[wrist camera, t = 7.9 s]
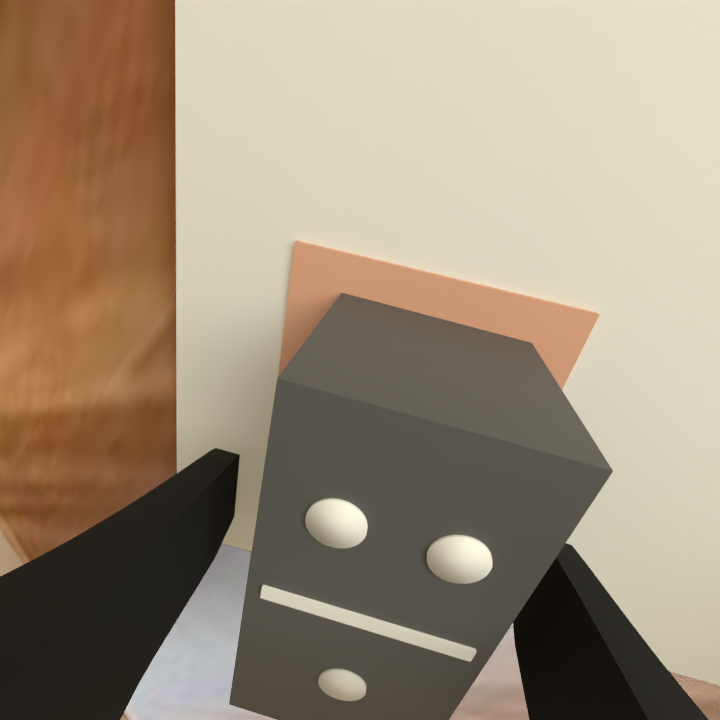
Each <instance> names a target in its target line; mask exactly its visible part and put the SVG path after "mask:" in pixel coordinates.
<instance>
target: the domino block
mask: <svg viewBox="0 0 720 720" xmlns="http://www.w3.org/2000/svg"><path fill="white" fill-rule="evenodd" d="M612 472H613V470H612V468H611V467H610V465H609V464H608V462H607V461H606V459H605V457H604V456H603V454H602V453H601V451H600V449H599V448H598V446H597V445H596V443H595V442H594V440H593V438H592V437H591V435H590V434H589V432H588V431H587V429H586V427H585V426H584V424H583V423H582V421H581V420H580V418H579V416H578V415H577V413H576V412H575V410H574V408H573V407H572V405H571V404H570V402H569V401H568V399H567V397H566V396H565V394H564V393H563V391H562V390H561V388H560V386H559V385H558V383H557V382H556V380H555V378H554V377H553V375H552V374H551V372H550V371H549V369H548V367H547V366H546V364H545V363H544V361H543V360H542V358H541V356H540V355H539V353H538V352H537V350H536V349H535V347H534V345H533V344H532V343H531V342H527V341H523V340H519V339H516V338H512V337H508V336H504V335H500V334H497V333H493V332H489V331H485V330H481V329H478V328H474V327H470V326H466V325H463V324H459V323H455V322H451V321H447V320H444V319H440V318H436V317H432V316H429V315H425V314H421V313H417V312H413V311H410V310H406V309H402V308H398V307H395V306H391V305H387V304H383V303H379V302H376V301H372V300H368V299H364V298H360V297H357V296H353V295H349V294H345V293H341V294H340V296H339V297H338V298H337V300H336V301H335V302H334V304H333V305H332V306H331V308H330V309H329V310H328V312H327V313H326V314H325V316H324V317H323V318H322V319H321V321H320V322H319V323H318V325H317V326H316V327H315V329H314V330H313V331H312V333H311V334H310V335H309V337H308V338H307V339H306V341H305V342H304V343H303V345H302V346H301V347H300V349H299V350H298V351H297V353H296V354H295V355H294V356H293V358H292V359H291V360H290V362H289V363H288V364H287V366H286V367H285V368H284V370H283V371H282V372H281V374H280V375H279V376H278V378H277V383H276V389H275V396H274V403H273V410H272V417H271V423H270V430H269V437H268V444H267V451H266V458H265V464H264V471H263V478H262V485H261V492H260V498H259V505H258V512H257V519H256V526H255V532H254V539H253V546H252V553H251V560H250V566H249V573H248V580H247V587H246V594H245V601H244V607H243V614H242V621H241V628H240V635H239V641H238V648H237V655H236V662H235V669H234V675H233V682H232V689H231V696H230V703H229V704H230V705H233V706H236V707H240V708H243V709H246V710H249V711H252V712H255V713H258V714H262V715H265V716H268V717H271V718H274V719H277V720H449V718H450V717H451V715H452V714H453V712H454V711H455V709H456V708H457V706H458V705H459V703H460V702H461V700H462V699H463V697H464V696H465V694H466V693H467V691H468V690H469V688H470V687H471V685H472V684H473V682H474V681H475V679H476V678H477V676H478V675H479V673H480V672H481V670H482V669H483V667H484V666H485V664H486V663H487V661H488V660H489V658H490V656H491V655H492V653H493V652H494V650H495V649H496V647H497V646H498V644H499V643H500V641H501V640H502V638H503V637H504V635H505V634H506V632H507V631H508V629H509V628H510V626H511V625H512V623H513V622H514V620H515V619H516V617H517V616H518V614H519V613H520V611H521V610H522V608H523V607H524V605H525V604H526V602H527V601H528V599H529V598H530V596H531V595H532V593H533V592H534V590H535V588H536V587H537V585H538V584H539V582H540V581H541V579H542V578H543V576H544V575H545V573H546V572H547V570H548V569H549V567H550V566H551V564H552V563H553V561H554V560H555V558H556V557H557V555H558V554H559V552H560V551H561V549H562V548H563V546H564V545H565V543H566V542H567V540H568V539H569V537H570V536H571V534H572V533H573V531H574V530H575V528H576V527H577V525H578V524H579V522H580V520H581V519H582V517H583V516H584V514H585V513H586V511H587V510H588V508H589V507H590V505H591V504H592V502H593V501H594V499H595V498H596V496H597V495H598V493H599V492H600V490H601V489H602V487H603V486H604V484H605V483H606V481H607V480H608V478H609V477H610V475H611V474H612Z"/></svg>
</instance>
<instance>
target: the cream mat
mask: <svg viewBox="0 0 720 720" xmlns="http://www.w3.org/2000/svg"><path fill="white" fill-rule="evenodd" d="M175 66H176V390H177V473H178V472H180V471H181V470H183V469H184V468H186V467H187V466H189V465H190V464H192V463H193V462H194V461H196V460H197V459H199V458H200V457H202V456H203V455H205V454H206V453H207V452H209V451H210V450H212V449H214V448H218V449H221V450H225V451H229V452H232V453H236V454H240V458H239V469H238V481H237V492H236V504H235V515H234V518H233V520H232V523H231V525H230V527H229V529H228V531H227V533H226V535H225V538H224V540H223V542H222V544H225V545H229V546H232V547H236V548H239V549H243V550H246V551H250V552H252V546H253V539H254V532H255V526H256V519H257V512H258V505H259V498H260V492H261V485H262V478H263V471H264V464H265V458H266V451H267V444H268V437H269V430H270V423H271V417H272V410H273V403H274V396H275V389H276V383H277V378H278V376H279V375H280V374H281V372H282V371H283V370H284V368H285V367H286V366H287V364H288V363H289V362H290V360H291V359H292V358H293V356H294V355H295V354H296V353H297V351H298V350H299V349H300V347H301V346H302V345H303V343H304V342H305V341H306V339H307V338H308V337H309V335H310V334H311V333H312V331H313V330H314V329H315V327H316V326H317V325H318V323H319V322H320V321H321V319H322V318H323V317H324V316H325V314H326V313H327V312H328V310H329V309H330V308H331V306H332V305H333V304H334V302H335V301H336V300H337V298H338V297H339V296H340V294H341V293H345V294H349V295H353V296H357V297H360V298H364V299H368V300H372V301H376V302H379V303H383V304H387V305H391V306H395V307H398V308H402V309H406V310H410V311H413V312H417V313H421V314H425V315H429V316H432V317H436V318H440V319H444V320H447V321H451V322H455V323H459V324H463V325H466V326H470V327H474V328H478V329H481V330H485V331H489V332H493V333H497V334H500V335H504V336H508V337H512V338H516V339H519V340H523V341H527V342H531V343H532V344H533V345H534V347H535V349H536V350H537V352H538V353H539V355H540V356H541V358H542V360H543V361H544V363H545V364H546V366H547V367H548V369H549V371H550V372H551V374H552V375H553V377H554V378H555V380H556V382H557V383H558V385H559V386H560V388H561V390H562V391H563V393H564V394H565V396H566V397H567V399H568V401H569V402H570V404H571V405H572V407H573V408H574V410H575V412H576V413H577V415H578V416H579V418H580V420H581V421H582V423H583V424H584V426H585V427H586V429H587V431H588V432H589V434H590V435H591V437H592V438H593V440H594V442H595V443H596V445H597V446H598V448H599V449H600V451H601V453H602V454H603V456H604V457H605V459H606V461H607V462H608V464H609V465H610V467H611V468H612V470H613V472H612V474H611V475H610V477H609V478H608V480H607V481H606V483H605V484H604V486H603V487H602V489H601V490H600V492H599V493H598V495H597V496H596V498H595V499H594V501H593V502H592V504H591V505H590V507H589V508H588V510H587V511H586V513H585V514H584V516H583V517H582V519H581V520H580V522H579V524H578V525H577V527H576V528H575V530H574V531H573V533H572V534H571V536H570V537H569V539H568V540H567V542H566V544H570V545H572V546H573V547H574V548H575V550H576V551H577V552H578V553H579V555H580V556H581V557H582V559H583V560H584V561H585V562H586V564H587V565H588V566H589V568H590V569H591V570H592V572H593V573H594V574H595V576H596V577H597V578H598V580H599V581H600V582H601V584H602V585H603V586H604V588H605V589H606V590H607V592H608V593H609V594H610V596H611V597H612V598H613V600H614V601H615V602H616V604H617V605H618V606H619V608H620V609H621V610H622V612H623V613H624V614H625V616H626V617H627V618H628V619H629V621H630V622H631V623H632V625H633V626H634V627H635V629H636V630H637V631H638V633H639V634H640V635H641V636H642V638H643V639H644V640H645V642H646V643H647V644H648V646H649V647H650V648H651V649H652V651H653V652H654V653H655V655H656V656H657V657H658V658H659V660H660V661H661V662H662V663H663V665H664V666H665V667H666V668H667V670H668V671H670V672H673V673H677V674H680V675H684V676H687V677H691V678H694V679H698V680H701V681H705V682H708V683H712V684H715V685H719V686H720V0H175ZM511 626H512V627H513V623H512V625H511Z"/></svg>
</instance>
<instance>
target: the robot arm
mask: <svg viewBox="0 0 720 720" xmlns="http://www.w3.org/2000/svg"><path fill="white" fill-rule="evenodd" d="M239 458H240V454H236V453H232V452H229V451H225V450H221V449H218V448H214V449H212V450H210V451H209V452H207V453H206V454H205V455H203V456H202V457H200V458H199V459H197V460H196V461H194V462H193V463H192V464H190V465H189V466H187V467H186V468H184V469H183V470H181V471H180V472H178V473H177V474H175V475H174V476H173V477H171V478H170V479H168V480H167V481H165V482H164V483H162V484H161V485H159V486H158V487H156V488H154V489H153V490H151V491H150V492H148V493H147V494H145V495H144V496H142V497H141V498H139V499H137V500H136V501H134V502H133V503H131V504H130V505H128V506H127V507H125V508H123V509H122V510H120V511H118V512H117V513H115V514H113V515H112V516H110V517H108V518H107V519H105V520H103V521H102V522H100V523H98V524H97V525H95V526H93V527H91V528H90V529H88V530H86V531H85V532H83V533H81V534H80V535H78V536H76V537H74V538H73V539H71V540H69V541H67V542H65V543H64V544H62V545H60V546H58V547H56V548H55V549H53V550H51V551H49V552H47V553H45V554H43V555H42V556H40V557H38V558H36V559H34V560H32V561H30V562H28V563H26V564H24V565H22V566H20V567H18V568H16V569H15V570H13V571H11V572H9V573H7V574H5V575H3V576H1V577H0V720H120V718H121V717H122V715H123V713H124V711H125V709H126V707H127V705H128V703H129V701H130V699H131V697H132V695H133V693H134V691H135V689H136V687H137V686H138V684H139V682H140V680H141V679H142V677H143V675H144V673H145V672H146V670H147V668H148V666H149V665H150V663H151V661H152V659H153V658H154V656H155V654H156V653H157V651H158V650H159V648H160V646H161V645H162V643H163V641H164V640H165V638H166V637H167V635H168V633H169V632H170V630H171V628H172V627H173V625H174V624H175V622H176V620H177V619H178V617H179V616H180V614H181V612H182V611H183V609H184V607H185V606H186V604H187V603H188V601H189V599H190V598H191V596H192V594H193V593H194V591H195V590H196V588H197V586H198V585H199V583H200V581H201V580H202V578H203V576H204V575H205V573H206V571H207V570H208V568H209V567H210V565H211V563H212V562H213V560H214V558H215V556H216V554H217V552H218V550H219V548H220V546H221V544H222V542H223V540H224V538H225V535H226V533H227V531H228V529H229V527H230V525H231V523H232V520H233V518H234V515H235V504H236V492H237V481H238V469H239ZM513 627H514V638H515V647H516V652H517V658H518V663H519V668H520V673H521V679H522V684H523V689H524V694H525V699H526V704H527V709H528V714H529V719H530V720H708V719H707V717H706V716H705V715H704V714H703V713H702V711H701V710H700V709H699V708H698V707H697V705H696V704H695V703H694V702H693V701H692V699H691V698H690V697H689V696H688V695H687V693H686V692H685V691H684V690H683V688H682V687H681V686H680V685H679V684H678V682H677V681H676V680H675V678H674V677H673V676H672V675H671V673H670V672H669V671H668V670H667V668H666V667H665V666H664V665H663V663H662V662H661V661H660V660H659V658H658V657H657V656H656V655H655V653H654V652H653V651H652V649H651V648H650V647H649V646H648V644H647V643H646V642H645V640H644V639H643V638H642V636H641V635H640V634H639V633H638V631H637V630H636V629H635V627H634V626H633V625H632V623H631V622H630V621H629V619H628V618H627V617H626V616H625V614H624V613H623V612H622V610H621V609H620V608H619V606H618V605H617V604H616V602H615V601H614V600H613V598H612V597H611V596H610V594H609V593H608V592H607V590H606V589H605V588H604V586H603V585H602V584H601V582H600V581H599V580H598V578H597V577H596V576H595V574H594V573H593V572H592V570H591V569H590V568H589V566H588V565H587V564H586V562H585V561H584V560H583V559H582V557H581V556H580V555H579V553H578V552H577V551H576V550H575V548H574V547H573V546H572V545H570V544H566V543H565V545H564V546H563V548H562V549H561V551H560V552H559V554H558V555H557V557H556V558H555V560H554V561H553V563H552V564H551V566H550V567H549V569H548V570H547V572H546V573H545V575H544V576H543V578H542V579H541V581H540V582H539V584H538V585H537V587H536V588H535V590H534V592H533V593H532V595H531V596H530V598H529V599H528V601H527V602H526V604H525V605H524V607H523V608H522V610H521V611H520V613H519V614H518V616H517V617H516V619H515V620H514V622H513Z"/></svg>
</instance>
